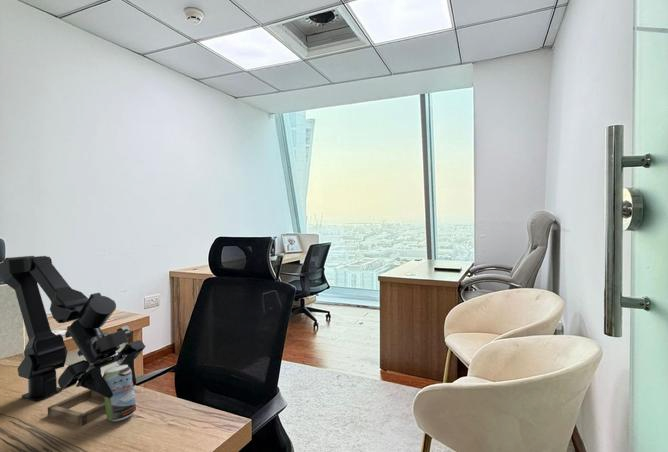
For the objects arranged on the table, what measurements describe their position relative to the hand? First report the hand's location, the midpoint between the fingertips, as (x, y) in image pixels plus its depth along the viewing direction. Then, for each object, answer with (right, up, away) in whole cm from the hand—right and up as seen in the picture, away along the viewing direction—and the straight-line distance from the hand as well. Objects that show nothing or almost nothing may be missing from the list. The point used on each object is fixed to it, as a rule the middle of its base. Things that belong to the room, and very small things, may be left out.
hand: (123, 390), depth 83 cm
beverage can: (-1, -7, +1) cm, 7 cm away
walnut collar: (-12, -7, +4) cm, 14 cm away
